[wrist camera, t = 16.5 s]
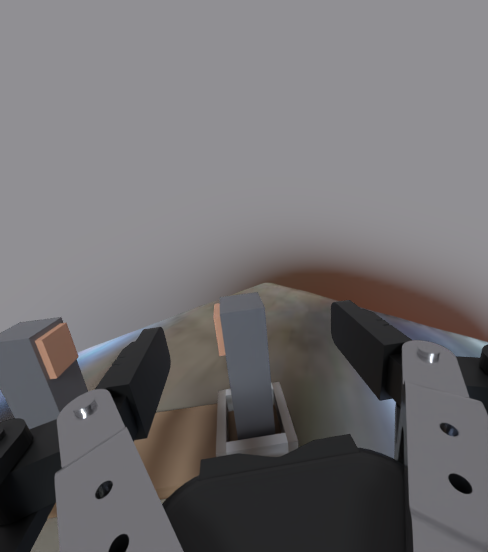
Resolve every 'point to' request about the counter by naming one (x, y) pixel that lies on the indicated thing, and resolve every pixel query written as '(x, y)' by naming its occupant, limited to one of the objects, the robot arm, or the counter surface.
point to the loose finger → (246, 362)
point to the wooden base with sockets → (205, 440)
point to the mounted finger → (39, 370)
